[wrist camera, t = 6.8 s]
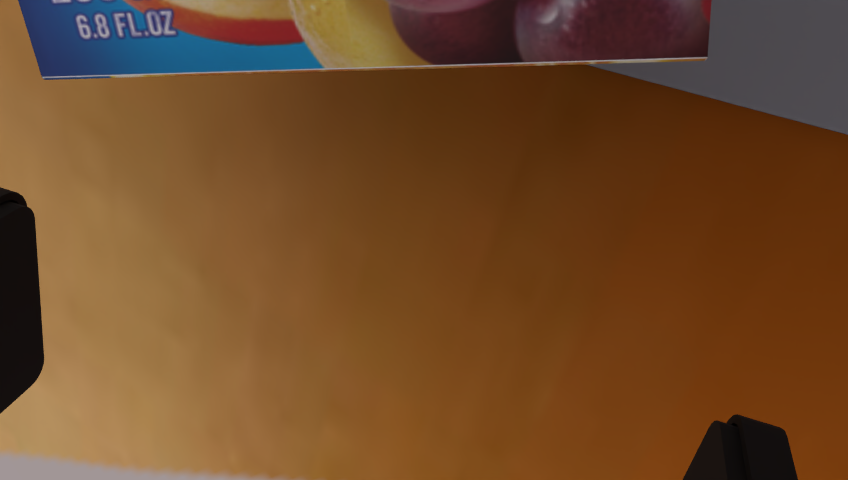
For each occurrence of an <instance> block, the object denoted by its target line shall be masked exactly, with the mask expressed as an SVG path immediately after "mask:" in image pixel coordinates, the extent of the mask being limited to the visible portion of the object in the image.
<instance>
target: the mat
mask: <svg viewBox="0 0 848 480" xmlns="http://www.w3.org/2000/svg"><path fill="white" fill-rule="evenodd" d="M586 65H589V66H593V67H597V68H600V69H604V70H608V71H612V72H615V73H619V74H623V75H627V76H630V77H634V78H638V79H642V80H645V81H649V82H653V83H657V84H660V85H664V86H668V87H671V88H675V89H679V90H683V91H686V92H690V93H694V94H698V95H701V96H705V97H709V98H713V99H716V100H720V101H724V102H727V103H731V104H735V105H739V106H742V107H746V108H750V109H754V110H757V111H761V112H765V113H769V114H772V115H776V116H780V117H784V118H787V119H791V120H795V121H798V122H802V123H806V124H810V125H813V126H817V127H821V128H825V129H828V130H832V131H836V132H840V133H843V134H847V135H848V0H712V1H711V15H710V30H709V44H708V58H707V59H706V60H704V61H680V62H645V63H611V64H586Z"/></svg>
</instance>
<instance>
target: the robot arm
mask: <svg viewBox="0 0 848 480" xmlns="http://www.w3.org/2000/svg"><path fill="white" fill-rule="evenodd" d="M43 364H44V350H43V335H42V320H41V305H40V289H39V274H38V259H37V244H36V229H35V217H34V213H33V211H32V210H31V209H30V208H28V207H27V204H26V201H25V199H24V198H23V196H22V195H20V194H19V193H17V192H13V191H10V190H7V189H4V188H0V413H2V412H3V411H4V410H5V409H6V408H7V407H8V406H9V405H10V404H12V403H13V402H14V401H15V400H16V399H17V398H18V397H19V396H20V395H22V394H23V393H24V392H25V391H26V390H27V389H28V388H29V387H30V386H31V385H32V384H33V383H34V382H35V381H36V380H37V378H38V377H39V375H40V373H41V370H42V367H43ZM683 480H798V479H797V475H796V471H795V466H794V462H793V458H792V454H791V450H790V446H789V442H788V438H787V435H786V433H785V431H784V430H783V429H782V428H779V427H776V426H773V425H770V424H767V423H763V422H760V421H757V420H754V419H750V418H747V417H744V416H741V415H733V416H732V417H731V418H730V419H729V420H728V422H727V424H726V423H723V422H720V421H714V422H713V423H712V424H711V426H710V427H709V429H708V431H707V433H706V435H705V437H704V439H703V441H702V443H701V445H700V447H699V449H698V450H697V452H696V454H695V456H694V458H693V460H692V462H691V464H690V466H689V468H688V470H687V472H686V474H685V476H684V478H683Z"/></svg>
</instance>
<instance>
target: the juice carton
mask: <svg viewBox="0 0 848 480" xmlns="http://www.w3.org/2000/svg"><path fill="white" fill-rule="evenodd" d="M18 1H19V4H20V7H21V11H22V14H23V17H24V20H25V24H26V27H27V30H28V33H29V36H30V40H31V43H32V46H33V49H34V53H35V56H36V59H37V62H38V66H39V69H40V72H41V75H42V78H43V79H45V80H53V79H88V78H123V77H157V76H192V75H227V74H262V73H297V72H332V71H367V70H401V69H436V68H471V67H506V66H541V65H576V64H611V63H645V62H680V61H704V60H706V59H707V58H708V44H709V30H710V15H711V1H712V0H18Z"/></svg>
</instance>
